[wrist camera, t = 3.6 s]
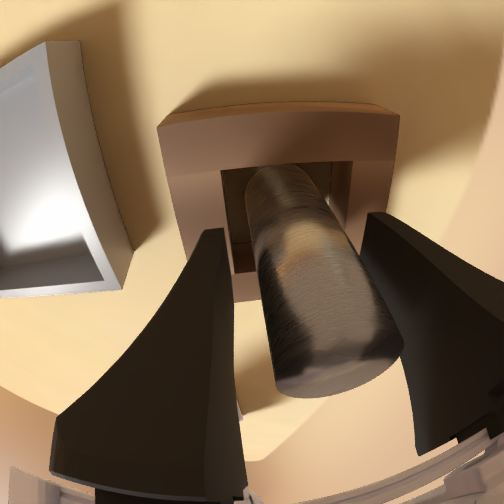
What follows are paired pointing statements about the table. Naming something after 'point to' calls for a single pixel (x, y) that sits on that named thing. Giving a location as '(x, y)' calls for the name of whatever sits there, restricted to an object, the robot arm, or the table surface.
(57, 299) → the table surface
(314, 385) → the pin
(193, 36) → the table surface
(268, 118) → the socket
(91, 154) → the tray
